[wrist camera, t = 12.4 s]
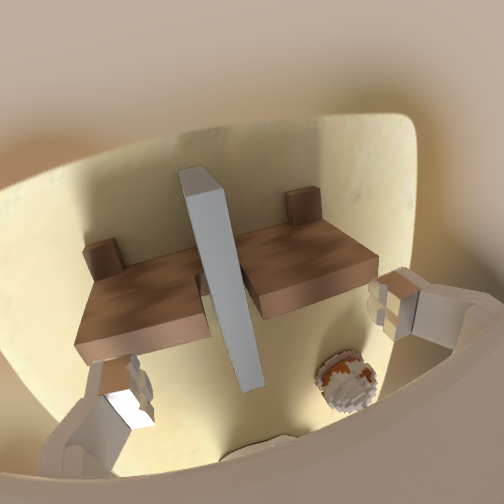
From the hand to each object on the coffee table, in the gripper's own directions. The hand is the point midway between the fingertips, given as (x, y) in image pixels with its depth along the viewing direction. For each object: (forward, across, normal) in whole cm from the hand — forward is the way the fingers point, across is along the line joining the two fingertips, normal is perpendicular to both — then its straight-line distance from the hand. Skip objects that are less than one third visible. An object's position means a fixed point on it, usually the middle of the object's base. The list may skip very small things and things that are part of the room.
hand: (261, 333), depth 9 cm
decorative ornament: (+19, +13, -28) cm, 37 cm away
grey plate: (+18, 0, -5) cm, 19 cm away
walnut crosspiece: (+18, 0, -5) cm, 19 cm away
